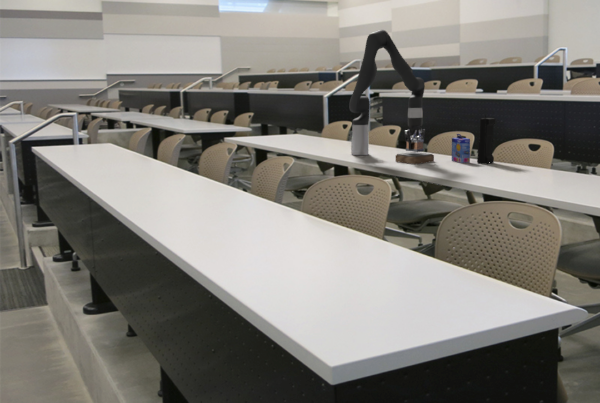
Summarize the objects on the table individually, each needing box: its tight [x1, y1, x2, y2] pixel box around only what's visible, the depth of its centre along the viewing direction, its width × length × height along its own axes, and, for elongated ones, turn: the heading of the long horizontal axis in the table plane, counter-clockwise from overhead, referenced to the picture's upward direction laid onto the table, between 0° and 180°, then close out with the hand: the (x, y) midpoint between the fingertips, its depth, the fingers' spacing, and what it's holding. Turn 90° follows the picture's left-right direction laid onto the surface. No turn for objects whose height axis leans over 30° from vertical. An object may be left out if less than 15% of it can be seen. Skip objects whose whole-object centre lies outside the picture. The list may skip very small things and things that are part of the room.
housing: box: [405, 138, 425, 153], centre depth 335 cm, size 5×8×6 cm, turn 37°
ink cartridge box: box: [451, 133, 471, 164], centre depth 331 cm, size 10×6×14 cm, turn 17°
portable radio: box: [476, 113, 496, 164], centre depth 324 cm, size 8×6×25 cm
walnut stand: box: [395, 151, 435, 165], centre depth 336 cm, size 14×14×4 cm
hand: (414, 149), depth 335 cm, fingers closed on housing, 5 cm apart
